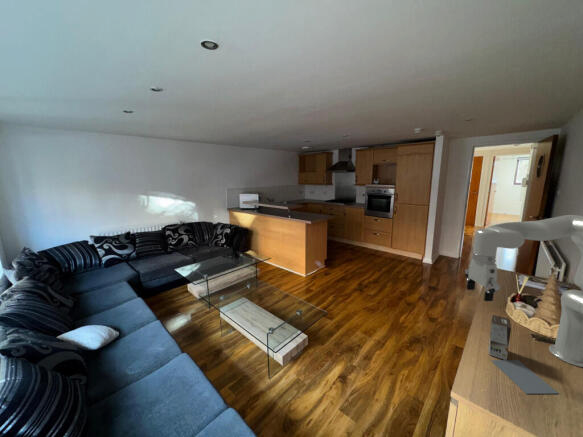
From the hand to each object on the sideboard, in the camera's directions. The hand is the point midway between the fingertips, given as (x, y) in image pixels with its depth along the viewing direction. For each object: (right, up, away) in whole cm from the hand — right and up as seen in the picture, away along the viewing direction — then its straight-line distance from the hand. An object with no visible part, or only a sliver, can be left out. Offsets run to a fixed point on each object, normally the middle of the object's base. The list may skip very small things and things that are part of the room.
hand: (478, 294), depth 101 cm
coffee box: (+15, -30, +7) cm, 34 cm away
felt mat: (+13, -32, -6) cm, 35 cm away
